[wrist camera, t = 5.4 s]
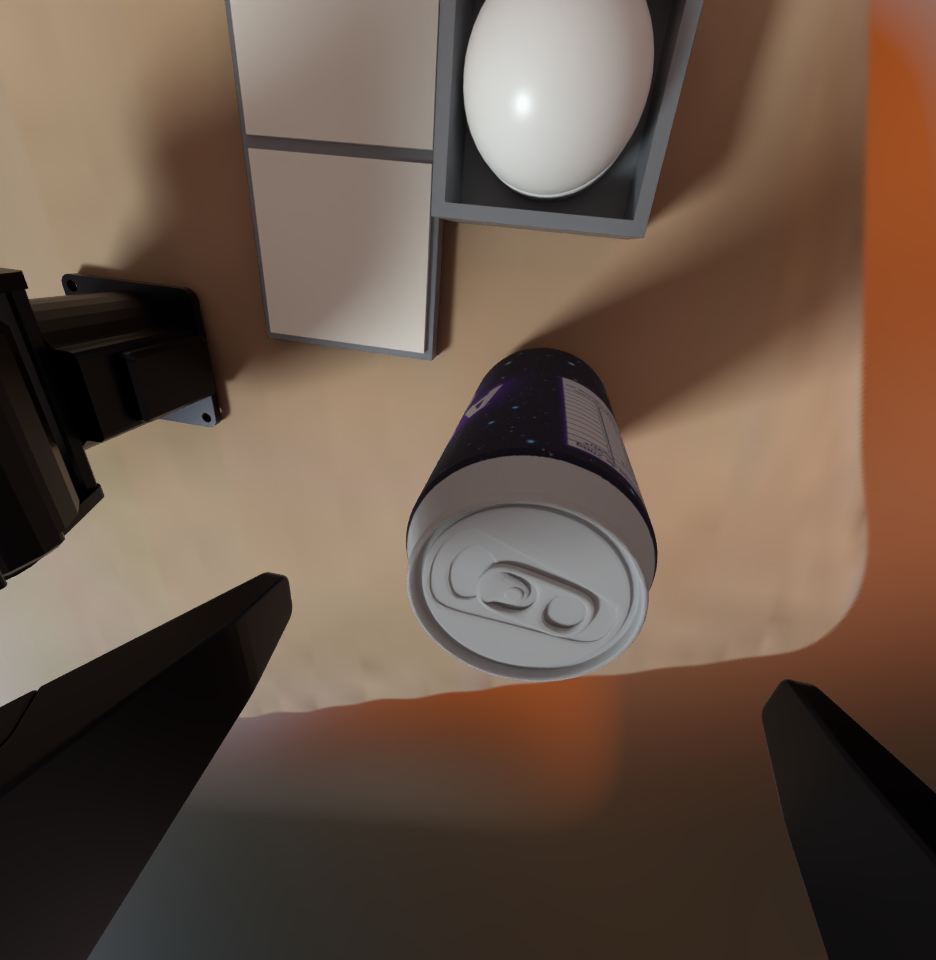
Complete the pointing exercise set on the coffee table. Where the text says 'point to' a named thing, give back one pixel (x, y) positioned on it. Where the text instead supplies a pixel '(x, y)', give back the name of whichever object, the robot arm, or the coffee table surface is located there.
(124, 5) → the coffee table surface
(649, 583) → the beverage can
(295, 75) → the game board
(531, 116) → the dome
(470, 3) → the dome base
